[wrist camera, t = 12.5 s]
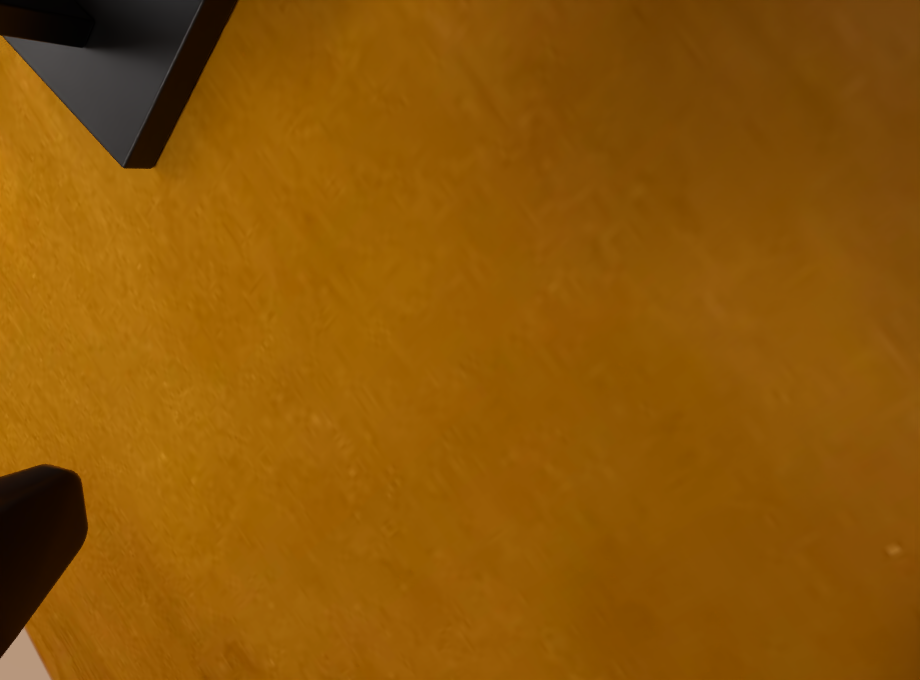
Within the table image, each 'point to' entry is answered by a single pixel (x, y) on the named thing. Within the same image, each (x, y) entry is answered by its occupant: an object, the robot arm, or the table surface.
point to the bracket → (118, 62)
